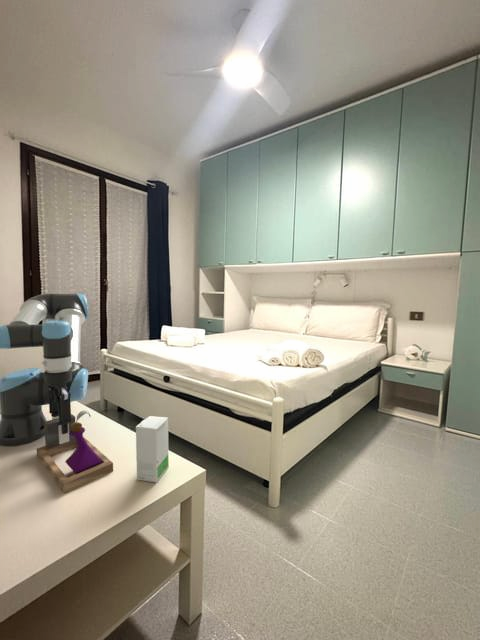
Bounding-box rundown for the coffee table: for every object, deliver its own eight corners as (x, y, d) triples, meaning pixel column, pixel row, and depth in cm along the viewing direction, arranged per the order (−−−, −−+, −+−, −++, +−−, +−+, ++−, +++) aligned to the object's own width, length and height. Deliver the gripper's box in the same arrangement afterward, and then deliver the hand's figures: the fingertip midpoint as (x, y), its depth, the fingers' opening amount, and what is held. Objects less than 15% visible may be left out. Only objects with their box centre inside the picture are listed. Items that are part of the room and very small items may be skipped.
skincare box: (156, 483, 82) (156, 429, 80) (134, 480, 83) (133, 426, 81) (169, 466, 90) (169, 416, 88) (149, 463, 91) (149, 414, 90)
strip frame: (36, 456, 94) (35, 424, 92) (80, 441, 103) (79, 411, 102) (64, 492, 77) (62, 454, 76) (113, 471, 87) (112, 436, 86)
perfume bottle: (74, 483, 81) (72, 420, 79) (65, 471, 86) (62, 412, 84) (102, 471, 87) (101, 412, 85) (92, 461, 92) (90, 404, 90)
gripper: (35, 366, 98) (39, 433, 100) (54, 378, 86) (57, 454, 88) (61, 362, 103) (63, 426, 106) (81, 373, 91) (84, 445, 94)
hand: (60, 438), depth 97 cm, fingers open, 5 cm apart
